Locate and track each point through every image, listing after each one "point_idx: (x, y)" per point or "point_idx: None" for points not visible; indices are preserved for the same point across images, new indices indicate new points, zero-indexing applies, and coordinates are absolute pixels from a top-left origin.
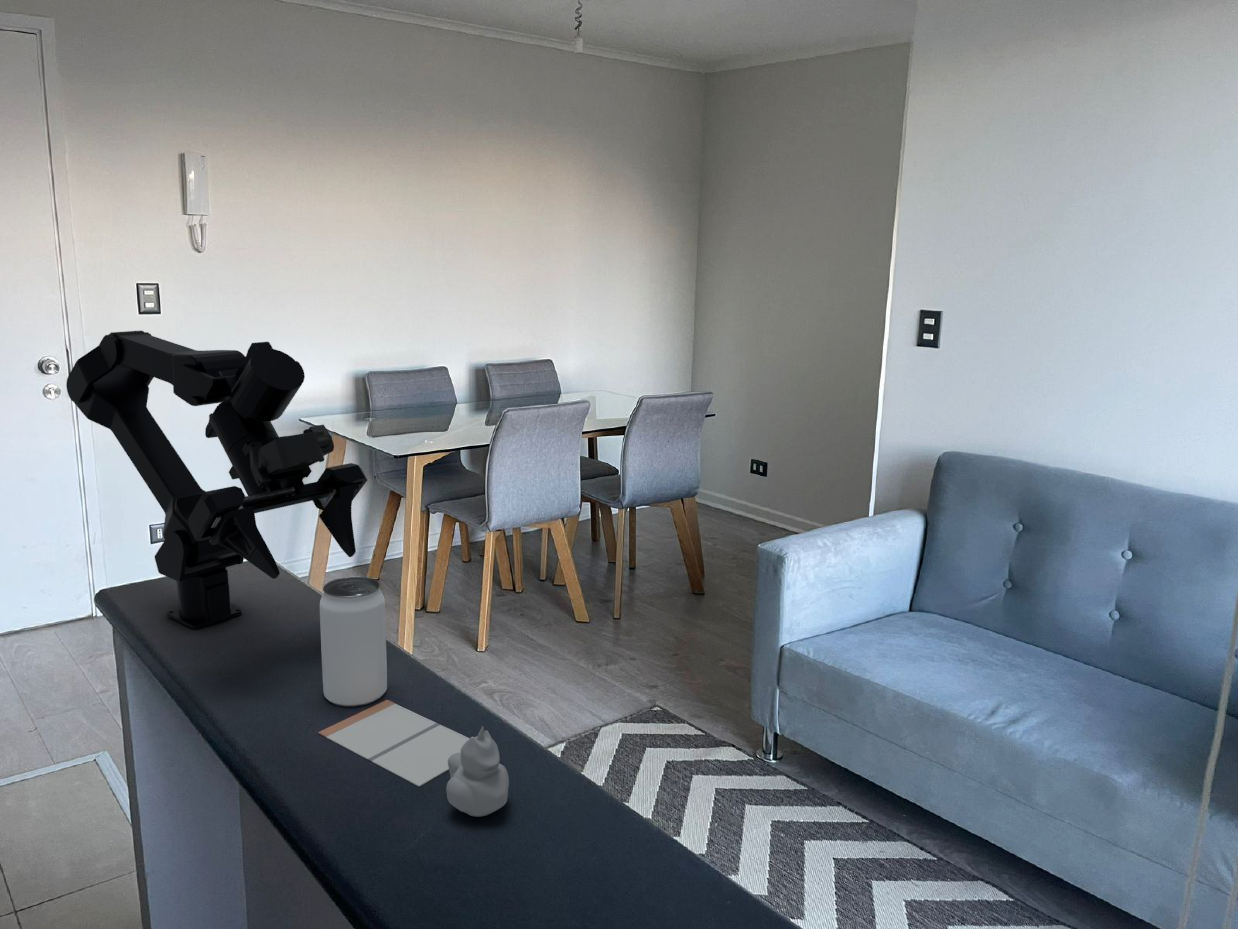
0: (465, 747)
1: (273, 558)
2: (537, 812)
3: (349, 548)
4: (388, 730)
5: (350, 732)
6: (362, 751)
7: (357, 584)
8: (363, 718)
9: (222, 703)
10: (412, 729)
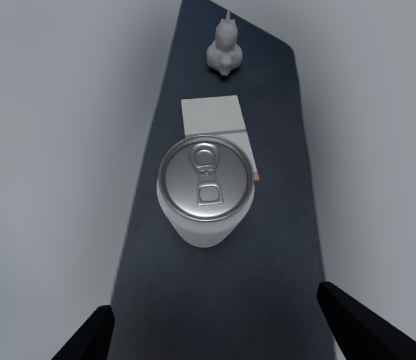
0: (236, 28)
1: (352, 315)
2: (203, 52)
3: (104, 323)
4: None
5: None
6: (245, 140)
7: (187, 187)
8: None
9: (311, 288)
10: None
